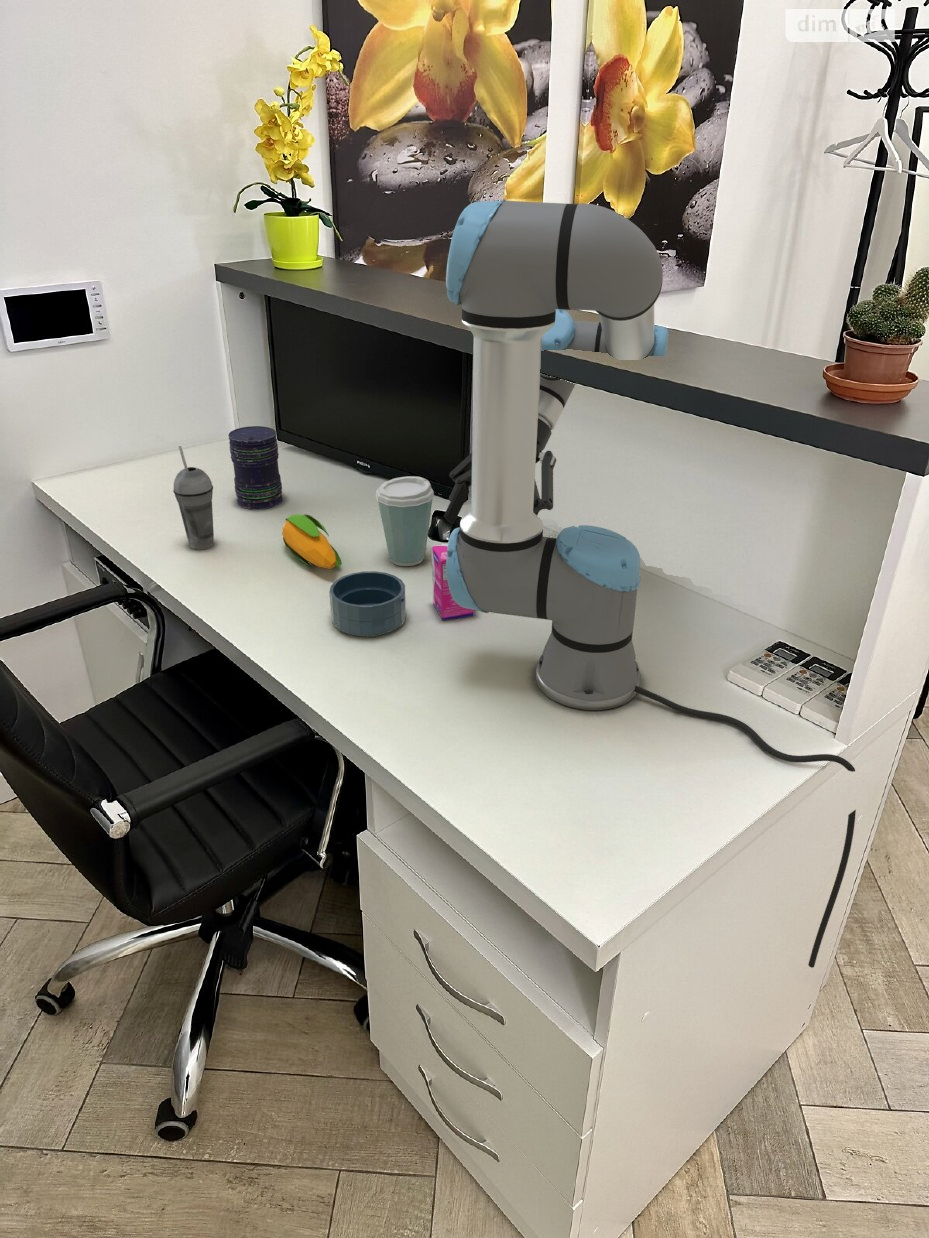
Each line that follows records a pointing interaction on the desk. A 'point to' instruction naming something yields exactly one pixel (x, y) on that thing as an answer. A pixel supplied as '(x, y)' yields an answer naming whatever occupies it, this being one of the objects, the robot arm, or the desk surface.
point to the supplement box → (444, 587)
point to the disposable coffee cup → (405, 517)
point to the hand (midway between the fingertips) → (480, 530)
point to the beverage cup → (195, 505)
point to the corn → (309, 541)
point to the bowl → (368, 603)
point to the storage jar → (256, 467)
